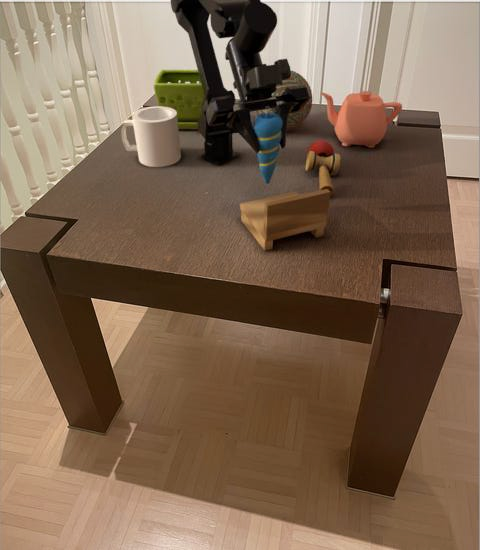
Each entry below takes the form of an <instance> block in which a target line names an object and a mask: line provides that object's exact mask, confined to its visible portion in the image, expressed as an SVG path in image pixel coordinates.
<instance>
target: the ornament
mask: <svg viewBox="0 0 480 550" xmlns="http://www.w3.org/2000/svg"><path fill="white" fill-rule="evenodd" d="M267 107H269V106H267ZM269 109H270V107H269ZM269 109H266V110H265V113H262V114H259V115H258V114H257V116H256V118H255V120H254V122H253V128H254V131H255V134H256V137H257V140H258V144H259V148H260V151H259V153H256V155H257V159H258V162H259V167H258V170H259V172H260V174H261V177H262V179H263V181H264V183H265V184H266V185H270V182H271V181H272V178H273V174H274V172H275V169H276V167H277V163H278V159H277V157H278V155H279V152H280V144H279V143H280V140H281V137H282V132H281V128H282V124H283V121H282V119H281V117H280V116H279V115H277V114H275V113H270V110H269Z"/></svg>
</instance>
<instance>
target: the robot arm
mask: <svg viewBox="0 0 480 550" xmlns="http://www.w3.org/2000/svg"><path fill="white" fill-rule="evenodd" d="M170 8H171V11H172V12H173V13H174V15H175V18H176V22H177V24H178V26H180V27H181V28H182V30H184V31H185V32H186V33H187V35H188V38H189V42H190V46H191V50H192V53H193V57H194V62H195V65H196V68H197V69H196V70H198V72H199V76H200V80H201V84H202V88H203V91H204V100H203V103H202V107H201V112H202V113H201V115H200V117H199V120H198V122H197V124H198V129H197V130H198V133H199V134H200V135H201V137H203V139H204V143H203V145H204V154H201V157H200V158H202V159H204V160H207V161H210V162H211V163H213V164H217V165H223V164H225V163H228V162H229V161H231V160H233V159H235V158H237V157H238V156H239V155H238V153H236V152H234V150H233V149H234V148H233V147H234V146H233V135H234V134H239V136H241V137H242V138H243V139H244V141H245V142H246V143H247V144H248V145H249V146H250V147H251V149H252V150H253V151H254V152H255V153H256V154H258V153H259V151H260V148H259V144H258V140H257V137H256V134H255V131H254V125H253V123H252V118H251V117H252V116H251V112H257V110H264V109H269V107H270V108H272V110H273V113H275V114H277V115H279V116H280V117H281V119H282V121H283V124H282V128H281V132H282V137H281V140H280V143H279V147H280V149H285V147H286V144H287V143H286V141H287V131H286V127H287V118H288V114H290V113H296V112H298V111H300V110H301V109H302V108H303V107H304V105H305V104H306V103H307V102H308V101H309V99H310V98H311V97H310V93H309V90H308V88H307V87H306V86H304V85H300V86H293V87H287V88H286V89H285V91H284V92H283V94H282V95H281V96H274V97H272V93H275V91H276V90H277V88H276V86H277V85H279V84H280V85H282V84H283V80H286V79H288V78H290V76H291V71H292V70H291V65H290V63H289V61H288V58H281V59H277V60H275V61H274V63H273V64H268V65H267V63H263V61H262V57H261V54H260V53H261V52H262V51H264V49H265V48H266V46H267V44H268V43H269V41H270V38H271V37H272V36H273V33H274V31H275V30H276V27H277V25H278V16H277V13H276V12H275V11H274V10H273V8H272V7H271V6H269V5H268V4H266V3H264V2H263V1H261V0H170ZM209 19H210V28H211V30H212V31H213V33H214V34H215V36H216V37H217V39H229V38H230V39H229V41H228V42H227V43H226V47H225V53H224V54H225V55H224V58H225V60H226V61H228V62H229V66H230V69H231V73H232V76H233V77H232V78H233V80H234V81H233V83H232V86H233V89H234V90H236V91H237V94H238V97H239V100H236V94H235V93H234V91H233V90H228V89H227V88H226V87H225V85H224V83H223V78H222V74H221V71H220V67H219V63H218V59H217V56H216V52H215V48H214V44H213V40H212V37H211V32H210V28H209V25H208V21H209ZM267 106H269V107H267Z"/></svg>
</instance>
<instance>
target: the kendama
mask: <svg viewBox="0 0 480 550" xmlns="http://www.w3.org/2000/svg"><path fill="white" fill-rule="evenodd" d="M307 149H308V150H307V154H306V160H305V161H306V162H305V171H306V172H312V171H313V170H317V169H318V170H319V172H318V184H319V186H318V187H319V189H318V191H320V190H324V189H328V190H329V191H330V197H332V196H333V195H334V193H335V190H334V186H333V183H332V180H331V176H334V177H335V176H337V175H338V172H339V170H340V166H341V154H339V153H334V152H335V151H334V147H333V146H332V144H331V143H330V142H328V141H327V140H323V139H319V140H316V141H314V142H312V143H311V144H310V145H309V147H308V148H307Z"/></svg>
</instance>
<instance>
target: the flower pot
mask: <svg viewBox="0 0 480 550" xmlns="http://www.w3.org/2000/svg"><path fill="white" fill-rule="evenodd" d="M179 81H180V82H179ZM153 89H154V95H155V100H156V103H157V106H162V107H169V108H172V109H174V110H175V111H176V112H177V121H178V130H198V124H197V122H198V120H199V117H200V115H201V113H202V112H201V107H202V103H203V100H204V91H203V88H202V84H201V80H200V76H199V72H198V69H161V70H160V71H159V72H158V74H157V75H156V77H155V79H154V82H153Z"/></svg>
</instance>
